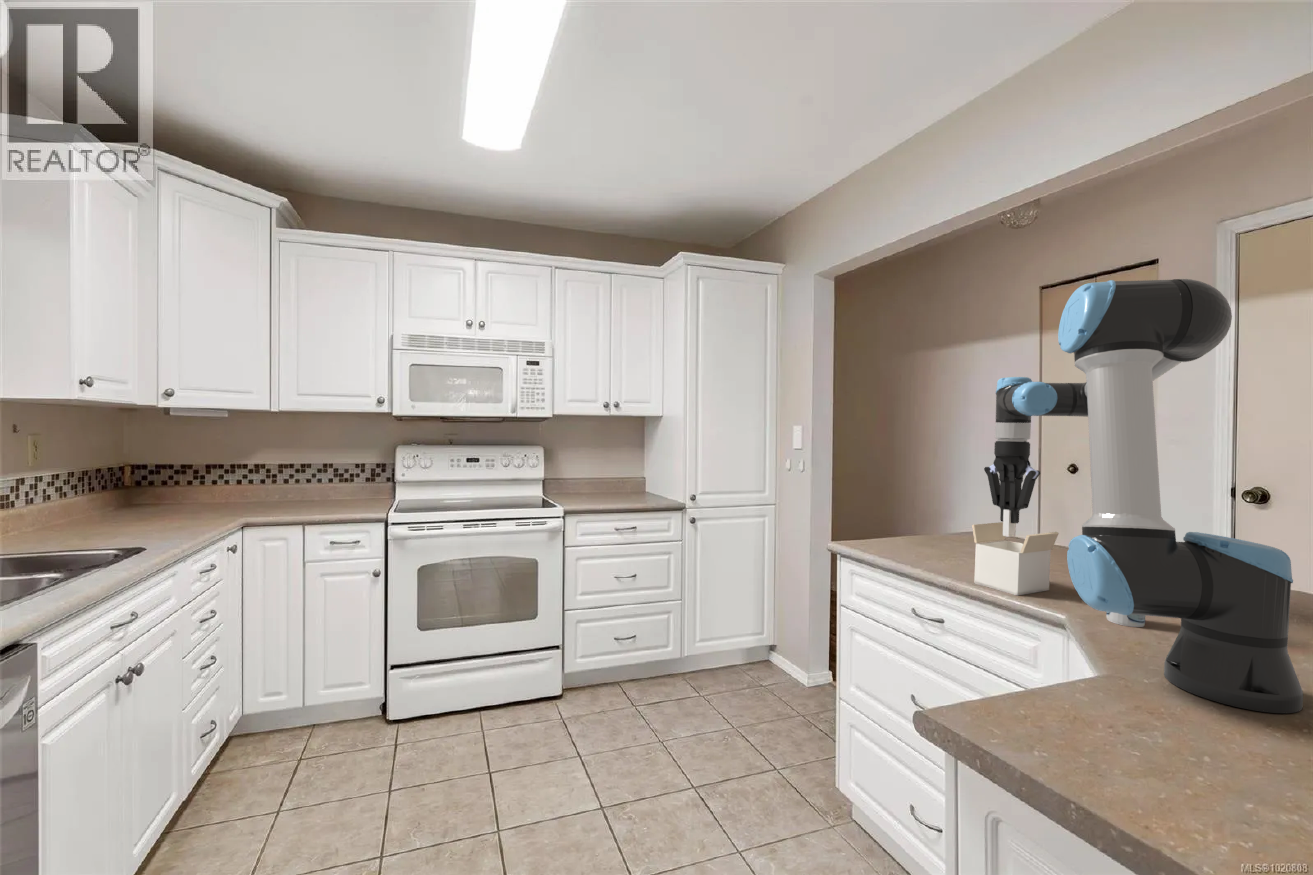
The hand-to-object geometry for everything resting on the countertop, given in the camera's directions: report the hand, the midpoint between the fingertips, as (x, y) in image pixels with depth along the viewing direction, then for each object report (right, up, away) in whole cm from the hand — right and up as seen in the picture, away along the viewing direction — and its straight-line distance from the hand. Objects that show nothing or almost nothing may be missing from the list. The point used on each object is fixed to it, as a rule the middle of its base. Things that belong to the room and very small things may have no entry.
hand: (1009, 535), depth 146 cm
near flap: (+3, 0, -6) cm, 7 cm away
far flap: (-2, 0, +5) cm, 5 cm away
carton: (0, -13, 0) cm, 13 cm away
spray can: (+9, -14, -25) cm, 30 cm away
